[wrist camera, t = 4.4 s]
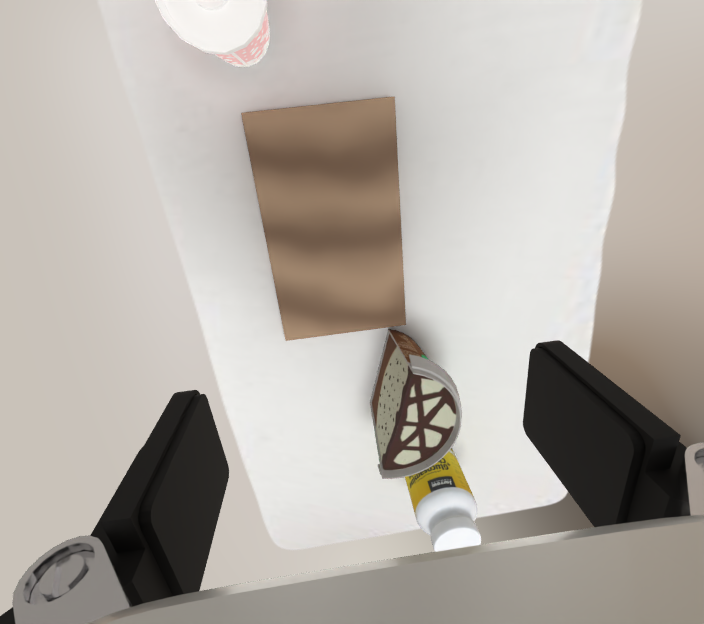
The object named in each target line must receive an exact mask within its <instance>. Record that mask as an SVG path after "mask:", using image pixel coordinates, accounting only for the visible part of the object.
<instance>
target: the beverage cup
mask: <svg viewBox="0 0 704 624" xmlns="http://www.w3.org/2000/svg"><path fill="white" fill-rule="evenodd" d="M155 2H156V4H157V6H158V9H159V11H160V13H161V15H162V17H163V19H164V21H165V22H166V23H167V24H168V25H169V26H170V27H171V28H172V29H173V31H174V32H175V33H176V34H177V35H178V36H179V37H180V38H181V39H182V40H183V41H184V42H186V43H188V44H190V45H192V46H194V47H196V48H198V49H199V50H201V51H203V52H205V53H207V54H214V55H216V56H217V57H219V58H221V59H222V60H224V61H226V62H228V63H230V64H232V65H233V66H236V67H249V66H251V65H254V64H256V63H258V62H259V61H260V60H261V59H262V57H263V56H264V55H265V54H266V52H267V48H268V45H269V42H270V29H269V21H268V15H267V0H155Z"/></svg>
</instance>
